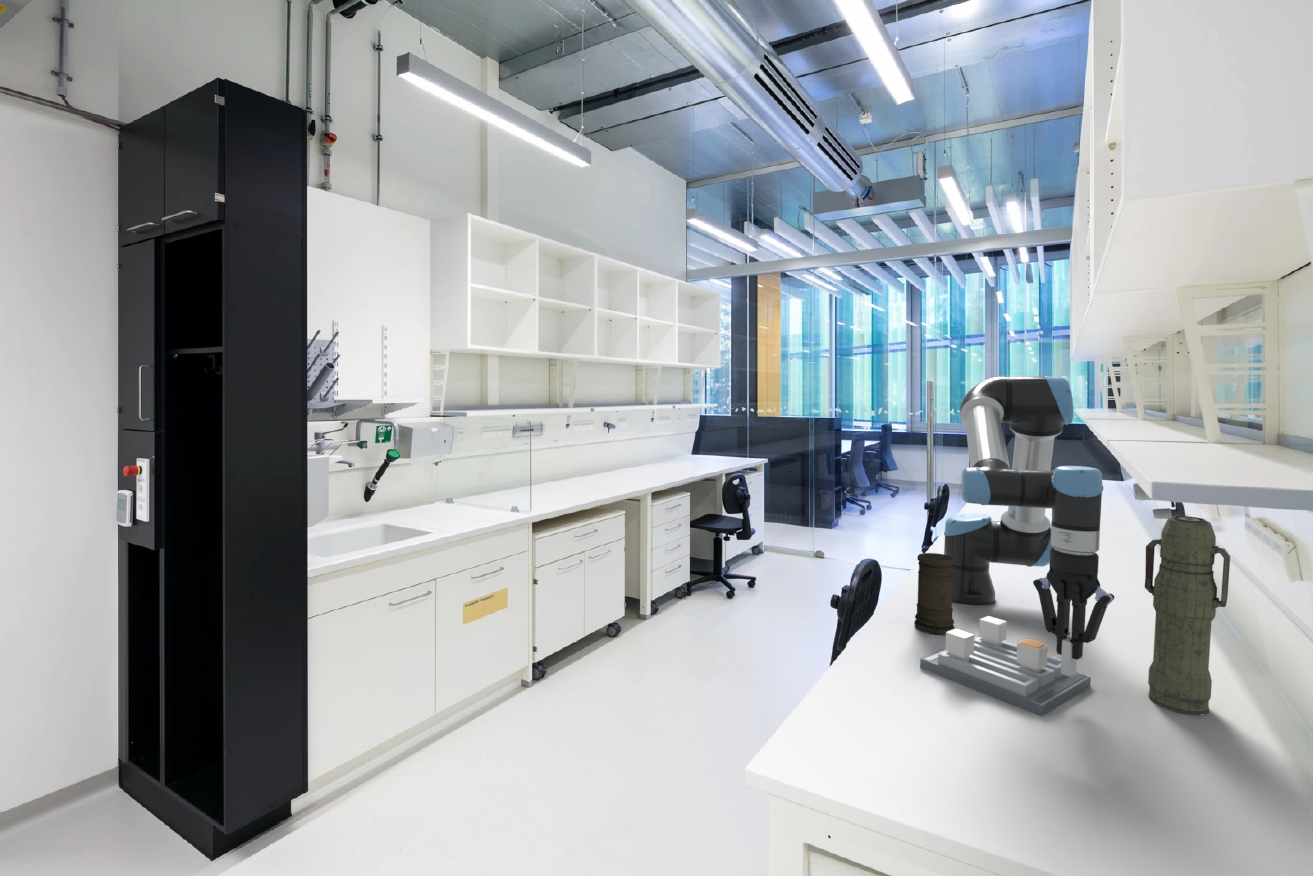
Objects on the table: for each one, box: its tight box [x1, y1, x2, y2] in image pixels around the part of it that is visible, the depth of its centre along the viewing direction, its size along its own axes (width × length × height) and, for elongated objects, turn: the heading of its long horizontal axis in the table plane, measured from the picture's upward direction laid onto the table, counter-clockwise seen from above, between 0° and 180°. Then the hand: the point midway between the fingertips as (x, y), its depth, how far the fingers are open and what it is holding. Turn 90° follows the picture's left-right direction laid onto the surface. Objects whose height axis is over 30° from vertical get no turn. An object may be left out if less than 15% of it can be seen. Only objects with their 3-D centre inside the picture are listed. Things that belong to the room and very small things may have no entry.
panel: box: [919, 615, 1092, 717], centre depth 126 cm, size 20×24×9 cm
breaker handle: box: [1016, 638, 1049, 674], centre depth 122 cm, size 4×4×7 cm
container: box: [913, 552, 956, 636], centre depth 152 cm, size 9×9×18 cm
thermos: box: [1144, 515, 1231, 716], centre depth 115 cm, size 9×12×35 cm
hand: (1068, 673), depth 117 cm, fingers closed
